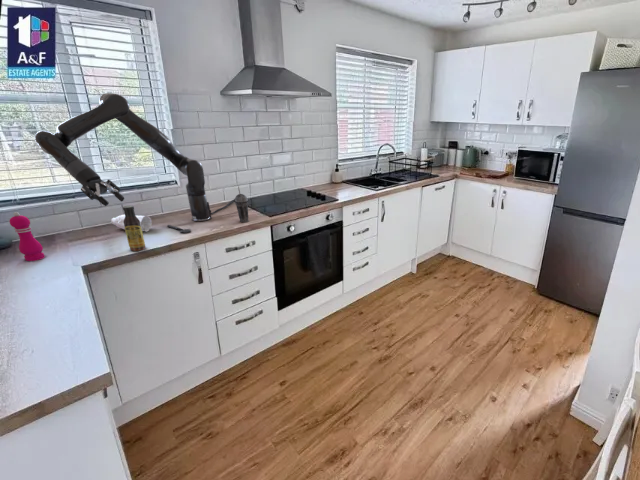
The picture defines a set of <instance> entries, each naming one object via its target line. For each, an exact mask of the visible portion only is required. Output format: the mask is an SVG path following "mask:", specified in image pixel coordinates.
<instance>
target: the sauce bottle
mask: <svg viewBox="0 0 640 480" xmlns="http://www.w3.org/2000/svg"><path fill="white" fill-rule="evenodd" d="M122 210H123V212H124V215H125V219H124V226H125V230H124V231H125V235H126V239H127V244H128V247H129V250H130V251H131V252H140V251H144V250H145V249H146V243H145V242H146V241H145V237H144V234H143V233H144V232H143V231H142V229H141V225H140V221H139V219H138V218H137V217H136V216H135V215H136V213H135V207H134V205H123V206H122Z"/></svg>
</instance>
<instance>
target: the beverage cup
mask: <svg viewBox="0 0 640 480" xmlns="http://www.w3.org/2000/svg"><path fill="white" fill-rule="evenodd" d="M237 189H238V194H237V195H235V198H234V199H235V201H234V204H235V206H236V210H237V211H236V212H237V215H238V218H239V222H240V223H247V222H249V200H248V197H247V196H246V195H245V194H243V193H241V191H240V190H241V189H240V186H237Z"/></svg>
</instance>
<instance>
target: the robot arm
mask: <svg viewBox="0 0 640 480" xmlns="http://www.w3.org/2000/svg"><path fill="white" fill-rule="evenodd" d="M98 99H99V100H98V101H99V105H97V106H96V107H94V108H92V109H90V110H88V111H86V112H82V113H80V114H77V115H75V116H72V117H71V118H69V119H67V120H65V121H63V122H62V123H60V124H58V125H57V126H56V131H55V133H52V132H50V131H48V130H39V131H38V132H36V133H35V135H34V140H35V142H36V144H37V145H38V146H39V148H40V149H41V151H42V152H44V153H45V154H46V155H50V156H51V157H53V159H54V160H55V162H57V164H59V165H60V166H61V167H62V168H63V169H65V171H67V172H68V174H69V175H70V176H71V177H72V178H73V179H74V180H76V181H77V182H78V183H79V184H80V185H81V188H80V191H81V192H82V193H83V194H84V195H85V196H87V198H88V199H90V200H91V201H93V200H96V201H98V202H99V203H100V204H102V205H103V206H104V207H107V206H108V205H109V201H108V200H107V199H105V197H104V196H102V195H101V194H110V195H114V197H115V198H116V199H117V200H119V201H120V202H123V201H125V197H124V195H122V194H121V193H120V191H121V188H120V187H119V186H118V185H117V184H115V182H113V181H111V179H107V180H106V181H104V180H102V179H101V176H100V175H99V174H98V173H97V172H96V171H95V170H94V169H92V168H91V167H90V166H89V165H88V164H87V163H86V162H84V161H83V160H82V159H80V158H79V157H78V156H77V155H76V154H75V153H74V152H72V151H71V150H70V149H69V148H68V147H69V146H70V145H71V144H72V143H73V142H74V141H77V140H78V139H79V138H81V137H82V136H85V135H86V134H88V133H89V132H91V131H93V130H94V129H96V128H98V127H100V126H102V125H103V124H106V123H108V122H111V121H113V120H117V122H120V123H121V124H123V125H124V126H126V128H128V129H129V130H130V131H131V132H132V133H133V134H134V135H136V136H137V137H138V138H139V139H140V140H141V141H143V142H144V143H145V144H146V145H147V146H149V147H150V148H151V149H152V150H154V151H155V152H157V153H158V154H159V155H160V156H162V157H164V158H165V159H166V160H168V161H169V162H170V163H171V164H172V165H173V166H174V167H175V168H176V169H177V170H178V171H179V172H181V174H183V175H185V176H186V177H187V183H186V184H185V190H186V195H187V200H188V204H189V209H190V213H191V220H192V222H206V221H209V220H211V219H212V215H213V214H216V213H218V212H219V211H221V210H224V209H225V208H227V207H229V206H230V205H231V204H232V203H233V202H235V198H234V199H232V200H230V201H229V203H227V204H226V205H224V206H223V207H220V208H218V209H215V210H214V211H213V212H212V210H211V207H210V202H209V201H208V199H207V193H206V188H205V184H206V180H205V172H204V167H203V165H202V163H201V162H200V161H198V160H196V159H192V158H189V157H187V156H186V155H184V154H183V153H181V152H180V150H178V149H177V148H176V146H175V145H174V144H173V142H172V141H171V139H169V137H168V136H167V135H166V134H164V133H163V132H162V131H161V130H160V129H159V128H157V127H156V126H155V125H153V124H151V123H150V122H149V121H148V120H146V119H144V118H142V117H140V116H138V115H137V114H136V113H135V112H133V111H132V110H131V109H130V103H129V101H128V100H127V98H125V97H124V96H122V95H120V94H118V93H112V92H106V93H102V94H101V95H100V96H99V98H98Z"/></svg>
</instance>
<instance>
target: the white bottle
mask: <svg viewBox="0 0 640 480" xmlns="http://www.w3.org/2000/svg"><path fill="white" fill-rule="evenodd" d="M135 216H136V217H137V218H138V219H139V221H140V225H141V229H142V232H149V231H150V230H151V229H152V227H153V224H152V223H153V221H152V218H151V217H150V216H148V215H136V214H135ZM124 219H125V214H120V215H117V216H116V217H111V219H110V223H111V224H112V225H114V226H115V227H116V228H119V229H122V230H123V231H125V226H124Z"/></svg>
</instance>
